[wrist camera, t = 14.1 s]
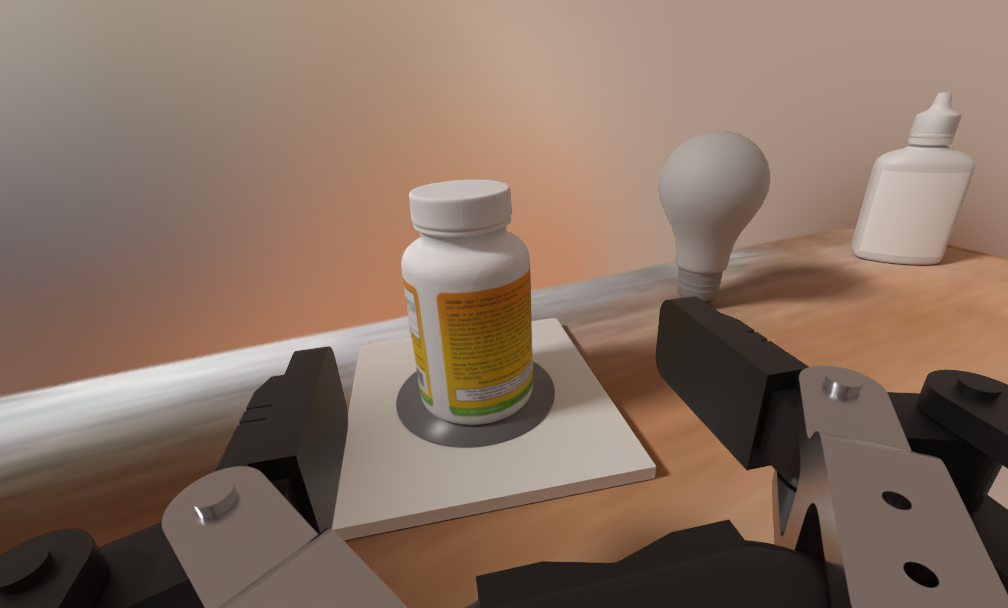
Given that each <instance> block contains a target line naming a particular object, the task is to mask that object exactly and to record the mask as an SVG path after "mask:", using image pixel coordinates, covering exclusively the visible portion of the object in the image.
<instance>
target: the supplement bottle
mask: <svg viewBox="0 0 1008 608" xmlns="http://www.w3.org/2000/svg"><path fill="white" fill-rule="evenodd" d="M409 198H410V208H411V220H412V222H413V223H414V229H415V230H416V231H418V232H420V236H421V237H420V238H418V239H417V240H415V241H414V242H413V243H412V244H410V245H409V246H408V248H407V249H406V250H405V252H404V254H403V257H402V262H401V266H402V277H403V283H404V290H405V297H406V302H407V310H408V317H409V324H410V331H411V336H412V344H413V350H414V356H415V363H416V370H417V376H418V384H419V389H420V394H421V398H422V401H423V403H424V405H425V407H426V408H427V409H428V411H429V412H431V413H432V414H433V415H434V416H436V417H438V418H440V419H442V420H444V421H447V422H451V423H456V424H464V425H478V424H487V423H492V422H496V421H499V420H502V419H505V418H507V417H509V416H511V415H513V414H514V413H516V412H517V411H518V410H519V409H521V408H522V407H523V406H524V405H525V404H526V402H527V401H528V399H529V398H530V396H531V393H532V389H533V358H532V323H531V281H530V258H529V252H528V249H527V247H526V245H525V244H524V242H523V241H522V240H521V239H520V238H519V237H517V236H516V235H514V234H512V233H510V232H508V231H507V230H506V226H507V225H508V224H510V222H511V214H512V208H511V207H512V206H511V192H510V187H509V185H507V184H505V183H503V182H498V181H491V180H457V181H446V182H439V183H433V184H428V185H424V186H420V187H418V188H415V189H413V190H412V191H411V192H410V193H409Z"/></svg>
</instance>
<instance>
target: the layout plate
mask: <svg viewBox="0 0 1008 608" xmlns="http://www.w3.org/2000/svg"><path fill="white" fill-rule="evenodd" d="M531 323H532V358H533V389H532V393H531V396H530V398H529V399H528V401H527V402H526V404H525V405H524V406H523V407H522V408H521V409H519V410H518V411H517V412H516V413H514V414H513V415H511V416H509V417H507V418H505V419H502V420H499V421H496V422H492V423H487V424H478V425H464V424H456V423H451V422H447V421H444V420H442V419H440V418H438V417H436V416H434V415H433V414H432V413H431V412H429V411H428V409H427V408H426V407H425V405H424V403H423V401H422V398H421V394H420V389H419V384H418V376H417V370H416V363H415V356H414V350H413V344H412V338H407V339H399V340H392V341H385V342H378V343H370V344H363V345H360V348H359V354H358V360H357V366H356V372H355V377H354V383H353V389H352V395H351V400H350V406H349V412H348V432H347V438H346V444H345V451H344V457H343V463H342V469H341V475H340V482H339V488H338V494H337V500H336V506H335V513H334V519H333V525H332V530H333V531H334V532H335V533H337V534H338V535H339V536H340V537H341V538H342V539H343V540H349V539H354V538H359V537H364V536H369V535H374V534H379V533H384V532H389V531H394V530H399V529H404V528H409V527H414V526H419V525H424V524H429V523H434V522H439V521H444V520H449V519H454V518H459V517H464V516H469V515H474V514H479V513H484V512H489V511H494V510H499V509H504V508H509V507H514V506H519V505H524V504H529V503H534V502H539V501H544V500H549V499H554V498H559V497H564V496H569V495H574V494H579V493H584V492H589V491H594V490H599V489H604V488H609V487H614V486H619V485H624V484H629V483H634V482H639V481H644V480H649V479H654V478H655V473H656V466H655V464H654V463H653V461H652V460H651V458H650V457H649V455H648V454H647V452H646V451H645V449H644V448H643V446H642V445H641V443H640V442H639V440H638V439H637V437H636V436H635V434H634V433H633V431H632V430H631V428H630V427H629V425H628V424H627V423H626V421H625V420H624V418H623V417H622V415H621V414H620V412H619V411H618V409H617V408H616V406H615V405H614V403H613V402H612V400H611V399H610V397H609V396H608V394H607V393H606V391H605V390H604V388H603V387H602V385H601V384H600V383H599V381H598V380H597V378H596V377H595V375H594V374H593V372H592V371H591V369H590V368H589V366H588V365H587V363H586V362H585V360H584V359H583V357H582V356H581V354H580V353H579V351H578V350H577V348H576V347H575V345H574V344H573V343H572V341H571V340H570V338H569V337H568V335H567V334H566V332H565V331H564V329H563V328H562V326H561V325H560V323H559V322H558V320H557V319H556V318H552V319H544V320H537V321H531Z"/></svg>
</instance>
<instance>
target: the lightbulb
mask: <svg viewBox="0 0 1008 608" xmlns="http://www.w3.org/2000/svg"><path fill="white" fill-rule="evenodd" d="M769 185H770V171H769V166H768V162H767V160H766V158H765V156H764V154H763V153H762V151H761V150H760V149H759V147H758V146H757V145H756V144H755V143H754V142H752V141H751V140H750V139H748V138H746V137H744V136H742V135H740V134H737V133H733V132H729V131H711V132H706V133H703V134H699V135H697V136H695V137H693V138H691V139H689V140H687V141H686V142H684V143H683V144H681V145H680V146H679V147H678V148H677V149H676V150H675V151H674V152H673V153H672V154H671V156H670V157H669V158H668V160H667V161H666V163H665V166H664V168H663V170H662V173H661V176H660V180H659V196H660V201H661V203H662V206H663V209H664V211H665V214H666V216H667V218H668V220H669V222H670V224H671V226H672V230H673V233H674V237H675V243H676V264H677V266H678V267H679V273H678V293H679V295H680V296H681V297H683V298H684V297H691V296H696V297H698V298H700V299H701V300H702V301H704V302H707V301H711V300H713V299H714V298H716V297H717V295H718V290H719V286H720V283H721V278H722V272H723V270H725V269H726V267H727V266H728V262H729V258H730V254H731V251H732V249H733V246H734V243H735V242H736V240H737V238H738V236H739V235H740V233H741V232H742V230H743V229H744V228H745V227H746V226H747V224H748V223H749V222H750V221H751V220H752V218H753V217H754V216H755V214H756V213H757V211H758V210H759V209H760V207H761V206H762V204H763V202H764V200H765V198H766V196H767V193H768V191H769Z"/></svg>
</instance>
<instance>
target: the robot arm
mask: <svg viewBox="0 0 1008 608" xmlns="http://www.w3.org/2000/svg"><path fill="white" fill-rule="evenodd" d="M656 363H657V367H658V370H659V373H660V375H661V377H662V378H663V379H664V380H665V381H666V383H667V384H668V385H669V386H670V387H671V388H672V389H673V390H674V391H675V392H676V393H677V395H678V396H679V397H680V398H681V399H682V400H683V401H684V402H685V403H686V404H687V405H688V407H689V408H690V409H691V410H692V411H693V412H694V413H695V414H696V415H697V416H698V418H699V419H700V420H701V421H702V422H703V423H704V424H705V425H706V426H707V427H708V428H709V430H710V431H711V432H712V433H713V434H714V435H715V436H716V437H717V438H718V439H719V440H720V442H721V443H722V444H723V445H724V446H725V447H726V448H727V449H728V450H729V451H730V452H731V454H732V455H733V456H734V457H735V458H736V459H737V460H738V461H739V462H740V463H741V464H742V466H743V467H744V468H745V469H746V470H750V469H755V468H760V467H765V466H769V465H771V466H772V467H773V468H774V469H775V472H774V476H773V480H772V497H773V522H774V544H769V543H763V542H756V541H747V540H744V539H743V537H742V536H741V535H740V533H739V532H738V531H737V529H736V528H735V527H734V526H733V524H732V523H731V522H730V520H725V521H720V522H716V523H711V524H707V525H702V526H698V527H694V528H689V529H685V530H680V531H676V532H671V533H669V534H667V535H666V536H664V537H662V538H660V539H658V540H657V541H655V542H653V543H651V544H649V545H648V546H646V547H644V548H642V549H640V550H639V551H637V552H635V553H633V554H631V555H629V556H628V557H626V558H624V559H622V560H620V561H618V562H614V563H585V562H538V563H534V564H529V565H525V566H520V567H516V568H511V569H507V570H502V571H498V572H494V573H489V574H485V575H480V576H476V582H477V590H478V598H479V600H477V601H476V602H474V603H472V604H470V605H468V606H466V607H465V608H1008V510H1007V509H1006V508H1005V507H1003V506H1002V505H1001V504H999V503H998V502H996V501H995V500H994V499H992V498H991V497H990V496H988V495H987V494H988V492H989V490H990V488H991V486H992V484H993V482H994V480H995V479H996V476H997V475H998V473H999V471H1000V469H1001V467H1002V465H1003V466H1005V467H1006V468H1008V385H1007V384H1005V383H1002V382H1000V381H997V380H995V379H992V378H989V377H986V376H982V375H979V374H975V373H970V372H965V371H958V370H938V371H934V372H931V373H929V374H928V375H927V377H926V380H925V383H924V385H923V388H922V390H921V393H920V394H917V393H893V392H886V390H885V389H884V388H883V387H882V386H881V385H880V384H879V383H877V382H876V381H874V380H873V379H871V378H869V377H867V376H865V375H863V374H860V373H858V372H855V371H852V370H848V369H845V368H840V367H834V366H813V367H808V366H807V365H805V364H804V363H802V362H801V361H799V360H798V359H796V358H795V357H793V356H792V355H790V354H789V353H787V352H786V351H784V350H783V349H782V348H780V347H779V346H777V345H776V344H774V343H773V342H771V341H767V338H765V337H764V336H762V335H761V334H759V333H758V332H756V333H755V332H754V330H753V329H752V328H750V327H749V326H747V325H746V324H744V323H743V322H741V321H740V320H738V319H735V318H733V317H730V316H727V315H725V314H722V313H720V312H718V311H717V310H716V309H714V308H713V307H711V306H710V305H708V304H707V303H705V302H704V301H702V300H701V299H700V298H698V297H696V296H691V297H684V298H677V299H670V300H665V301H664V302H663V303H662V305H661V308H660V316H659V326H658V337H657V347H656ZM246 409H247V411H246V412H244V414H243V416H242V418H241V420H240V425H239V426H237V428H236V430H235V432H234V434H233V436H232V438H231V440H230V442H229V444H228V446H227V449H226V451H225V453H224V455H223V457H222V459H221V461H220V463H219V465H218V467H217V469H216V471H215V472H213V473H211V474H208V475H206V476H204V477H202V478H200V479H199V480H197V481H195V482H194V483H192V484H191V485H189V486H188V487H186V488H185V489H184V490H183V491H181V492H180V493H179V494H178V495H177V496H176V497H175V498H174V499H173V500H172V501H171V503H170V504H169V506H168V507H167V509H166V511H165V512H164V515H163V518H162V522H160V523H158V524H156V525H154V526H151V527H149V528H146V529H144V530H141V531H139V532H136V533H134V534H131V535H129V536H126V537H124V538H121V539H119V540H116V541H114V542H111V543H109V544H106V545H104V546H101V547H99V548H98V546H97V545H96V543H95V541H94V540H93V538H92V537H91V535H90V534H89V533H88V532H86V531H84V530H81V529H63V530H57V531H53V532H50V533H46V534H43V535H41V536H38V537H35V538H33V539H31V540H28V541H26V542H24V543H22V544H20V545H18V546H16V547H14V548H13V549H11V550H9V551H8V552H6V553H4V554H3V555H1V556H0V608H408V607H407V606H406V605H405V604H404V603H403V602H402V601H401V600H400V599H399V598H398V597H397V596H396V595H395V594H394V592H393V591H392V590H391V589H390V588H389V587H388V586H387V585H386V584H385V583H384V582H383V581H382V580H381V579H380V578H379V577H378V576H377V575H376V574H375V573H374V572H373V571H372V570H371V569H370V568H369V566H368V565H367V564H366V563H365V562H364V561H363V560H362V559H361V558H360V557H359V556H358V555H357V554H356V553H355V552H354V551H353V550H352V549H351V548H350V547H349V546H348V545H347V544H346V543H345V541H344V540H343V539H342V538H341V537H340V536H339V535H338V534H337V533H335V532H334V531H333V530H332V525H333V519H334V513H335V506H336V500H337V494H338V488H339V482H340V475H341V469H342V463H343V457H344V451H345V444H346V438H347V432H348V413H347V406H346V401H345V397H344V393H343V389H342V385H341V381H340V376H339V372H338V368H337V364H336V360H335V356H334V353H333V350H332V348H331V347H322V348H315V349H308V350H300V351H295V352H294V353H293V355H292V358H291V360H290V363H289V365H288V367H287V370H286V372H285V375H280V376H273V377H271V378H270V379H268V380H267V381H266V382H265V383H264V384H263V385H262V386H261V387H260V388H258V389H257V390H256V391H255V392H254V394H253V396H252V398H251V400H250V402H249V404H248V406H247V408H246Z"/></svg>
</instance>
